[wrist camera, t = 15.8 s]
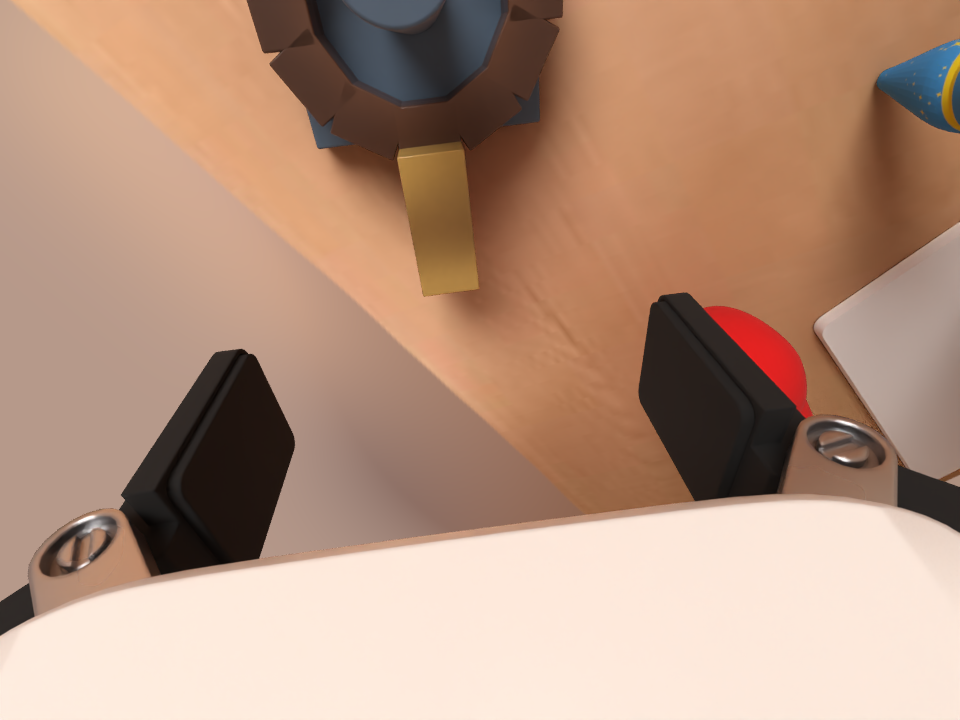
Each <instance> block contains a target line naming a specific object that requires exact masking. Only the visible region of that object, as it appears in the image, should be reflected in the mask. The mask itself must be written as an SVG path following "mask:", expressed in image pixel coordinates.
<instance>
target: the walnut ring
mask: <svg viewBox="0 0 960 720" xmlns="http://www.w3.org/2000/svg"><path fill="white" fill-rule="evenodd" d="M500 1H501V16H500V19H499V21H498V24H497V26H496V29H495V32H494V34H493V37H492V40H491V42H490V45H489V48H488V50H487V53H486V55H485V58H484V61H483V63H482V65H481V66H480V67H479V68H478V69H477V70H476V71H474V72H473V73H472V74H471V75H470V76H469V77H467V78H466V79H465V80H464V81H463V82H462V83H461V84H459V85H458V86H457V87H456V88H455V89H454V90H452V91H451V92H450V93H449V94H448V95H447V96H442V97H434V98H426V99H418V100H410V101H401V100H399V99H397V98H394V97H392V96H390V95H388V94H386V93H384V92H382V91H380V90H378V89H376V88H374V87H372V86H369V85H367V84H365V83H363V82H361V81H359V80H358V79H357V77H356V76H355V75H354V73H353V72H352V71H351V69H350V68H349V67H348V65H347V64H346V63H345V61H344V60H343V59H342V58H341V56H340V55H339V54H338V52H337V51H336V50H335V48H334V47H333V46H332V44H331V43H330V42H329V40H328V39H327V38H326V36H325V35H324V31H323V27H322V23H321V19H320V14H319V10H318V6H317V2H316V0H247V3H248V6H249V9H250V13H251V16H252V19H253V22H254V25H255V29H256V32H257V35H258V38H259V42H260V45H261V48H262V51H263V53H276V52H280V53H279V54H278V55H277V56H276V57H275V58H274V59H273V60H272V61H271V62H270V66H271V67H272V68H273V70H274V71H275V72H276V73H277V74H278V75H279V77H280V78H281V79H282V80H283V81H284V83H285V84H286V85H287V86H288V87H289V88H290V90H291V91H292V92H293V93H294V94H295V96H296V97H297V98H298V99H299V100H300V101H301V103H302V104H303V105H304V106H305V107H306V109H307V110H308V111H309V112H310V113H311V114H312V116H313V117H314V118H315V119H316V120H317V121H318V123H319V124H320V125H321V126H322V127H323V126H325V125H326V124H327V123H328V122H329V121H330V120H332V119H333V118H334V119H333V124H332V128H331V134H333V135H335V136H338V137H340V138H342V139H345V140H347V141H349V142H351V143H354V144H356V145H358V146H361V147H363V148H365V149H367V150H370V151H372V152H374V153H377V154H379V155H381V156H383V157H386V158H388V159H390V160H393V159H394V156H395V153H396V150H397V147H399V153H398V157H397V161H398V167H399V172H400V177H401V182H402V188H403V193H404V198H405V203H406V209H407V214H408V219H409V224H410V229H411V235H412V240H413V245H414V250H415V256H416V261H417V266H418V271H419V276H420V282H421V287H422V292H423V296H424V297H425V296H433V295H440V294H448V293H455V292H463V291H470V290H478V289H479V280H478V271H477V262H476V253H475V244H474V234H473V225H472V216H471V207H470V198H469V189H468V180H467V171H466V162H465V153H464V148H463V145H462V141H461V138H462V139H463V141H464V142H465V144H466V145H467V147H468V148H469V150H472V149H473V148H475V147H476V146H477V145H478V144H480V143H481V142H482V141H483V140H485V139H486V138H487V137H488V136H490V135H491V134H492V133H493V132H495V131H496V130H497V129H498V128H500V127H501V126H502V125H503V124H504V123H506V122H507V121H508V120H509V119H511V118H512V117H513V116H514V115H516V114H517V113H518V112H519V111H521V110H522V108H521V106H520V104H519V103H518V101H517V99H516V97H515V96H514V95H516V96H518V97H520V98H522V99H524V100H526V101H528V100H529V98H530V96H531V93H532V91H533V89H534V87H535V84H536V82H537V80H538V77H539V75H540V73H541V71H542V68H543V66H544V64H545V62H546V59H547V57H548V55H549V53H550V50H551V48H552V46H553V43H554V41H555V39H556V37H557V34H558V32H559V28H558V27H557V26H555V25H553V24H552V23H550V22H548V21H547V20H548V19H555V18H561V17H562V16H563V0H500Z"/></svg>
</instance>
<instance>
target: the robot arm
mask: <svg viewBox="0 0 960 720" xmlns="http://www.w3.org/2000/svg"><path fill="white" fill-rule="evenodd" d="M639 399H640V402H641V405H642V406H643V408H644V410H645V412H646V414H647V415H648V417H649V419H650V421H651V423H652V424H653V426H654V428H655V430H656V432H657V434H658V435H659V437H660V439H661V441H662V443H663V444H664V446H665V448H666V450H667V452H668V453H669V455H670V457H671V459H672V461H673V462H674V464H675V466H676V468H677V470H678V471H679V473H680V475H681V477H682V479H683V480H684V482H685V484H686V486H687V488H688V489H689V491H690V493H691V495H692V497H693V498H694V500H695V501H694V502H685V503H676V504H667V505H658V506H650V507H642V508H634V509H626V510H619V511H611V512H603V513H595V514H587V515H580V516H572V517H564V518H556V519H548V520H541V521H533V522H525V523H518V524H510V525H503V526H495V527H488V528H481V529H472V530H465V531H458V532H451V533H442V534H435V535H428V536H420V537H413V538H405V539H398V540H390V541H383V542H376V543H369V544H361V545H354V546H347V547H340V548H334V549H326V550H318V551H311V552H305V553H297V554H289V555H282V556H275V557H268V558H261V559H259V557H260V554H261V551H262V548H263V545H264V542H265V539H266V536H267V532H268V529H269V526H270V523H271V520H272V517H273V514H274V511H275V507H276V504H277V501H278V498H279V495H280V492H281V489H282V486H283V482H284V480H285V476H286V473H287V470H288V467H289V464H290V461H291V458H292V455H293V452H294V448H295V440H294V436H293V433H292V431H291V429H290V427H289V424H288V422H287V420H286V418H285V416H284V414H283V412H282V410H281V408H280V406H279V404H278V402H277V400H276V397H275V395H274V393H273V392H272V389H271V387H270V385H269V383H268V381H267V379H266V377H265V375H264V373H263V371H262V368H261V366H260V364H259V362H258V360H257V358H256V357H255V356H254V355H253V354H248V353H247V352H246V351H245V350H243V349H237V350H229V351H221V352H216V353H215V354H214V355H213V356H212V357H211V359H210V360H209V362H208V363H207V365H206V366H205V368H204V369H203V371H202V372H201V374H200V375H199V377H198V379H197V380H196V382H195V383H194V385H193V386H192V388H191V389H190V391H189V392H188V394H187V395H186V397H185V398H184V400H183V401H182V403H181V404H180V406H179V407H178V409H177V410H176V412H175V413H174V415H173V417H172V418H171V419H170V421H169V422H168V424H167V426H166V427H165V429H164V430H163V432H162V433H161V435H160V436H159V438H158V439H157V441H156V442H155V444H154V445H153V447H152V448H151V450H150V451H149V453H148V454H147V456H146V457H145V459H144V460H143V462H142V463H141V465H140V467H139V468H138V470H137V471H136V473H135V474H134V476H133V477H132V479H131V480H130V482H129V483H128V485H127V487H126V488H125V489H124V491H123V492H122V494H121V496H122V497H123V498H124V499H125V502H124V503H123V505H122V506H121V508H120V509H119V510H116V509H113V508H110V509H99V510H96V511H92V512H89V513H86V514H84V515H82V516H80V517H78V518H76V519H73V520H72V521H70V522H69V523H67V524H66V525H64V526H63V527H61V528H59V529H58V530H57V531H56V532H55V533H54V534H52V535H51V536H50V537H49V538H48V539H47V540H46V541H45V542H44V543H43V544H42V545H41V546H40V547H39V549H38V550H37V551H36V552H35V554H34V556H33V558H32V560H31V562H30V564H29V569H28V579H29V583H28V584H27V585H25V586H24V587H22V588H21V589H19V590H18V591H16V592H14V593H13V594H12V595H10V596H8V597H7V598H5V599H4V600H2V601H1V602H0V720H960V487H958V486H955V485H952V484H949V483H947V482H944V481H941V480H938V479H935V478H933V477H930V476H927V475H924V474H921V473H919V472H916V471H913V470H910V469H907V468H905V467H902V466H899V465H898V458H897V455H896V451H895V449H894V448H893V446H892V445H891V444H890V442H889V441H888V440H887V439H886V438H885V437H883V436H882V435H881V434H880V433H878V432H877V431H876V430H874V429H872V428H870V427H869V426H867V425H865V424H863V423H860V422H858V421H855V420H852V419H849V418H846V417H841V416H836V415H816V416H811V417H808V418H805V417H804V416H803V415H802V414H801V413H800V412H799V411H798V410H797V409H796V407H797V406H796V405H795V404H794V403H793V402H792V401H791V400H790V399H789V398H788V397H787V396H786V394H785V393H784V392H783V391H782V390H781V389H780V388H779V387H778V386H777V385H776V384H775V383H774V382H773V381H772V380H771V379H770V378H769V377H768V376H767V375H766V374H765V373H764V372H763V370H762V369H761V368H760V367H759V366H758V365H757V364H756V363H755V362H754V361H753V360H752V359H751V358H750V357H749V356H748V355H747V354H746V353H745V352H744V351H743V350H742V349H741V348H740V346H739V345H738V344H737V343H736V342H735V341H734V340H733V339H732V338H731V337H730V336H729V335H728V334H727V333H726V332H725V331H724V330H723V329H722V328H721V327H720V326H719V325H718V324H717V322H716V321H715V320H714V319H713V318H712V317H711V316H710V315H709V314H708V313H707V312H706V311H705V310H704V309H703V308H702V307H701V306H700V305H699V304H698V303H697V302H696V301H695V300H694V298H693V297H692V296H691V295H690V294H688V293H677V294H669V295H662V296H660V297H659V299H658V302H654V303H653V304H652V305H651V308H650V315H649V322H648V328H647V335H646V342H645V349H644V356H643V363H642V369H641V376H640V383H639Z"/></svg>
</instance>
